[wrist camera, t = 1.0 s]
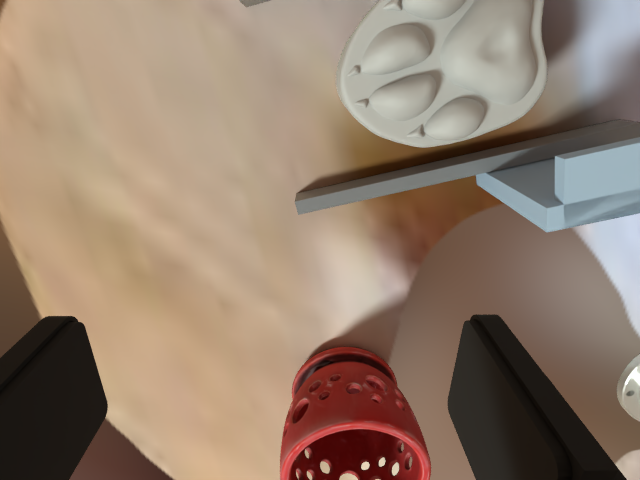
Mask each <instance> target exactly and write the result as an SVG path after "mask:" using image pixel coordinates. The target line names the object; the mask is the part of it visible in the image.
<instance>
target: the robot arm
mask: <svg viewBox="0 0 640 480" xmlns="http://www.w3.org/2000/svg"><path fill="white" fill-rule="evenodd" d="M617 396H618V400H619V402H620V404H621V406H622V407H623V408H624V409H625V410H626V411H627V413H628V414H629V415H631V416H632V417H633V418H634V419H636V420H638V421H640V354H638V355H637V356H636V357H635V358H634V359H633V360H632V361H631V362H630V363H629V364H628V365H627V367H626V368H625V370H624V371H623V373H622V374H621V377H620V379H619V382H618V387H617ZM107 408H108V404H107V400H106V397H105V393H104V390H103V386H102V383H101V380H100V376H99V373H98V369H97V366H96V363H95V359H94V356H93V353H92V349H91V346H90V342H89V339H88V336H87V332H86V329H85V326H84V324H83V323H81V322H78V320H77V319H76V318H75V317H73V316H48V317H45V318H43V319H42V320H41V321H39V322H38V323H37V324H36V325H35V326H34V327H33V328H32V329H31V330H30V331H29V332H28V333H27V334H26V335H24V337H22V338H21V339H20V340H19V341H18V342H17V343H16V344H15V345H14V346H13V347H12V348H11V349H10V350H9V351H7V352H6V353H5V354H4V355H3V356H2V357H1V358H0V480H69V479H70V477H71V475H72V473H73V472H74V470H75V468H76V467H77V465H78V463H79V462H80V460H81V458H82V456H83V455H84V453H85V451H86V450H87V448H88V446H89V445H90V443H91V441H92V439H93V438H94V436H95V434H96V433H97V431H98V429H99V427H100V426H101V424H102V422H103V421H104V419H105V417H106V414H107ZM448 410H449V414H450V417H451V419H452V422H453V424H454V427H455V429H456V432H457V434H458V436H459V439H460V441H461V444H462V446H463V449H464V451H465V454H466V456H467V458H468V461H469V463H470V466H471V468H472V471H473V473H474V476H475V478H476V480H627V479H626V478H625V477H624V475H623V474H622V473H621V472H620V470H619V469H618V468H617V466H616V465H615V464H614V463H613V461H612V460H611V459H610V457H609V456H608V455H607V453H606V452H605V451H604V450H603V449H602V447H601V446H600V445H599V443H598V442H597V441H596V439H595V438H594V437H593V435H592V434H591V433H590V432H589V431H588V429H587V428H586V426H585V425H584V424H583V423H582V421H581V420H580V419H579V418H578V416H577V415H576V413H575V412H574V411H573V410H572V408H571V407H570V406H569V404H568V403H567V402H566V401H565V400H564V398H563V397H562V395H561V394H560V393H559V392H558V390H557V389H556V388H555V386H554V385H553V384H552V382H551V381H550V380H549V379H548V377H547V376H546V375H545V374H544V373H543V372H542V370H541V369H540V368H539V366H538V365H537V364H536V363H535V361H534V360H533V359H532V357H531V356H530V355H529V353H528V352H527V351H526V350H525V348H524V347H523V346H522V344H521V343H520V342H519V341H518V339H517V338H516V337H515V335H514V334H513V333H512V332H511V330H510V329H509V328H508V326H507V325H506V324H505V322H504V321H503V320H502V319H501V317H499V316H498V315H473V316H472V317H471V319H470V321H465V322H464V325H463V329H462V334H461V339H460V344H459V348H458V353H457V358H456V363H455V368H454V372H453V377H452V382H451V387H450V392H449V396H448Z"/></svg>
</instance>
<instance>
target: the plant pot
mask: <svg viewBox="0 0 640 480" xmlns="http://www.w3.org/2000/svg"><path fill="white" fill-rule="evenodd" d="M292 398H293V401H292V403H291V406H290V409H289V411H288V415H287V418H286V422H285V426H284V431H283V438H282V446H281V456H280V480H298V478H297V476H296V471H297V473H298V476H299V480H309V479H308V477H307V471H309V472H310V473H311V475H312V480H339V478H340V476H341V475H342V474H345V473H350V474H353V475H355V476H356V477H357V478H358V480H375V479H381V480H430V475H431V462H430V457H429V454H428V451H427V447H426V444H425V441H424V438H423V435H422V432H421V430H420V427H419V425H418V422H417V420H416V418H415V416H414V413H413V411H412V410H411V408H410V406H409V404H408V402H407V400H406V399H405V397H404V395H403V394H402V392H401V391H400V390H399V389H398V387H397V382H396V378H395V375H394V373H393V371H392V370H391V368H390V367H389V365H388V364H387V363H386V362H385V361H384V360H383V359H381V358H380V357H379V356H377V355H375V354H373V353H371V352H369V351H366V350H364V349H360V348H354V347H338V348H333V349H329V350H326V351H323V352H321V353H319V354H317V355H315V356H313V357H312V358H310V359H309V360H308V361H307V362H306V363H305V364H304V365H303V366H302V367H301V368H300V370H299V371H298V373H297V375H296V377H295V379H294V382H293V387H292ZM402 443H403V444H404V450H403V451H401V445H402ZM305 449H306V450H307V451H308V453H309V459H308V458H306V456H305ZM382 457H384V458H385V460H386V462H385V465H384V466H382V467H379V460H380V459H381V458H382ZM410 457H412V466H411V468H410V467H409V459H410ZM295 459H296V460H295ZM321 461H325V462H326V463H328V465H329V467H330V472H329V473H328V474H326V473H323V472H322V471H321V469H320V463H321ZM366 461H367V462H369V464H370V467H369V469H367V470H362V469H361V465H362V463H363V462H366ZM396 462H398V463H399V472H398V473H397V475H395V476H393V475H392V467H393V465H394V464H395V463H396Z"/></svg>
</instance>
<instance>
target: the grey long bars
mask: <svg viewBox="0 0 640 480" xmlns="http://www.w3.org/2000/svg"><path fill="white" fill-rule="evenodd" d="M266 1H270V0H240V2H241V3H242V4H244V5H245V6H246V7H248V6H252V5H255V4H259V3H263V2H266ZM637 137H640V122H634V121H627V120H620V119H619V120H614V121H610V122H605V123H601V124H597V125H592V126H588V127H584V128H579V129H575V130H571V131H566V132H562V133H558V134H553V135H549V136H544V137H540V138H536V139H531V140H527V141H523V142H518V143H514V144H510V145H505V146H501V147H497V148H492V149H488V150H484V151H479V152H475V153H470V154H466V155H462V156H457V157H453V158H449V159H444V160H440V161H436V162H431V163H427V164H423V165H418V166H414V167H409V168H405V169H401V170H396V171H392V172H388V173H383V174H379V175H375V176H370V177H366V178H362V179H357V180H353V181H349V182H344V183H340V184H335V185H331V186H327V187H322V188H318V189H314V190H309V191H305V192H301V193H297V194H296V198H295V204H296V208H297V212H298V215H299V214H304V213H308V212H313V211H317V210H322V209H326V208H330V207H335V206H339V205H344V204H348V203H353V202H357V201H362V200H366V199H371V198H375V197H380V196H384V195H389V194H393V193H397V192H402V191H406V190H411V189H415V188H420V187H424V186H429V185H433V184H438V183H442V182H447V181H451V180H455V179H460V178H464V177H469V176H473V175H478V174H482V173H487V172H491V171H496V170H500V169H505V168H509V167H514V166H518V165H522V164H527V163H531V162H536V161H540V160H545V159H549V158H554V157H555V156H557V155H561V154H566V153H570V152H575V151H579V150H584V149H588V148H593V147H597V146H602V145H606V144H610V143H615V142H619V141H624V140H628V139H633V138H637Z"/></svg>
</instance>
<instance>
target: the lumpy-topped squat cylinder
mask: <svg viewBox="0 0 640 480" xmlns="http://www.w3.org/2000/svg"><path fill="white" fill-rule="evenodd" d="M543 6H544V0H379V1H378V2H377V3H376V4H375V5H374V6H373V7H372V9H371V10H370V11H369V12H368V13H367V15H366V16H365V17H364V18H363V20H362V21H361V22H360V24H359V25H358V26H357V28H356V29H355V31H354V32H353V34H352V35H351V37H350V38H349V40H348V41H347V43H346V45H345V47H344V49H343V52H342V54H341V57H340V60H339V63H338V66H337V71H336V87H337V92H338V95H339V97H340V99H341V101H342V103H343V104H344V106H345V107H346V108H347V109H348V111H349V112H350V113H351V114H352V115H353V117H354V118H355V119H356V120H357V121H358V122H360V123H361V124H362V125H363V126H364V127H366V128H367V129H368V130H370V131H371V132H373V133H374V134H376V135H378V136H380V137H383V138H385V139H388V140H391V141H394V142H398V143H402V144H406V145H410V146H415V147H434V146H440V145H446V144H451V143H455V142H459V141H463V140H467V139H470V138H473V137H476V136H479V135H482V134H484V133H487V132H490V131H492V130H495V129H498V128H500V127H503V126H506V125H508V124H510V123H512V122H514V121H516V120H517V119H519V118H521V117H522V116H524V115H525V114H526V113H527V112H528V111H529V110H530V109H531V108H532V107H533V106H534V104H535V103H536V102H537V100H538V99H539V97H540V96H541V94H542V92H543V90H544V88H545V85H546V82H547V75H548V68H547V59H546V56H545V51H544V47H543V41H542V15H543Z"/></svg>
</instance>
